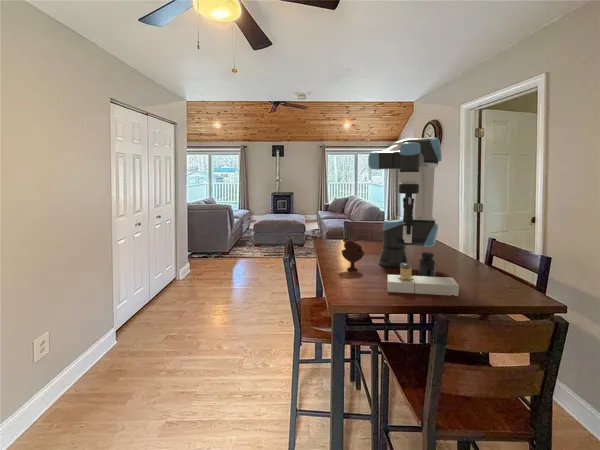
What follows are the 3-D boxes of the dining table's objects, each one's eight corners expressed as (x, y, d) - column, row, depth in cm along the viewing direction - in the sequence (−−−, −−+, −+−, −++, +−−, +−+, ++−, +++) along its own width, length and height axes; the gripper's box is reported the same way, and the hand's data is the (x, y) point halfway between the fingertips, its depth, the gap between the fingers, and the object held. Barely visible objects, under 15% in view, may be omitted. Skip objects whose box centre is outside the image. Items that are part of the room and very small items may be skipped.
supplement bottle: (436, 282, 161) (437, 254, 160) (419, 281, 162) (420, 254, 161) (433, 278, 168) (434, 251, 166) (417, 277, 169) (418, 251, 168)
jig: (387, 283, 159) (387, 274, 158) (452, 287, 153) (452, 277, 153) (387, 291, 147) (388, 281, 147) (458, 295, 142) (458, 285, 141)
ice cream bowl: (354, 274, 176) (354, 242, 174) (336, 269, 184) (337, 239, 182) (368, 270, 183) (369, 239, 181) (350, 266, 191) (351, 237, 189)
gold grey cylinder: (398, 286, 154) (399, 262, 153) (411, 287, 153) (411, 263, 152) (399, 289, 150) (400, 265, 149) (412, 290, 149) (413, 265, 148)
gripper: (397, 183, 158) (396, 236, 160) (400, 183, 137) (398, 244, 140) (416, 183, 156) (414, 237, 159) (422, 183, 136) (419, 245, 138)
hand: (407, 240), depth 149 cm, fingers open, 9 cm apart
